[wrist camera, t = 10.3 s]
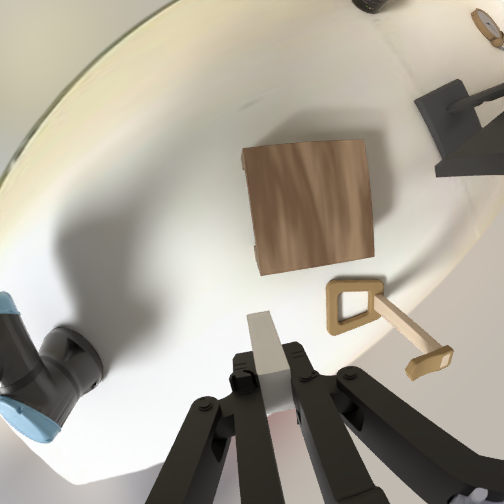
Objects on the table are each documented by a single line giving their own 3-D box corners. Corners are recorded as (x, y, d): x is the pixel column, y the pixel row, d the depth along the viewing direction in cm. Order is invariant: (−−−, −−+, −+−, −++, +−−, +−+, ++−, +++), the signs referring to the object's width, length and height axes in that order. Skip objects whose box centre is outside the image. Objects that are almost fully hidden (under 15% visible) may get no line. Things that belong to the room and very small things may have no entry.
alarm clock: (479, 4, 29) (513, 40, 29) (472, 11, 33) (505, 46, 34) (472, 12, 30) (509, 51, 30) (464, 19, 35) (500, 57, 35)
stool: (260, 275, 35) (374, 256, 36) (242, 148, 32) (363, 139, 32) (255, 258, 44) (349, 244, 44) (241, 157, 40) (339, 148, 41)
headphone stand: (325, 280, 46) (387, 348, 24) (381, 270, 46) (461, 321, 25) (326, 333, 48) (375, 415, 27) (378, 321, 48) (443, 387, 27)
